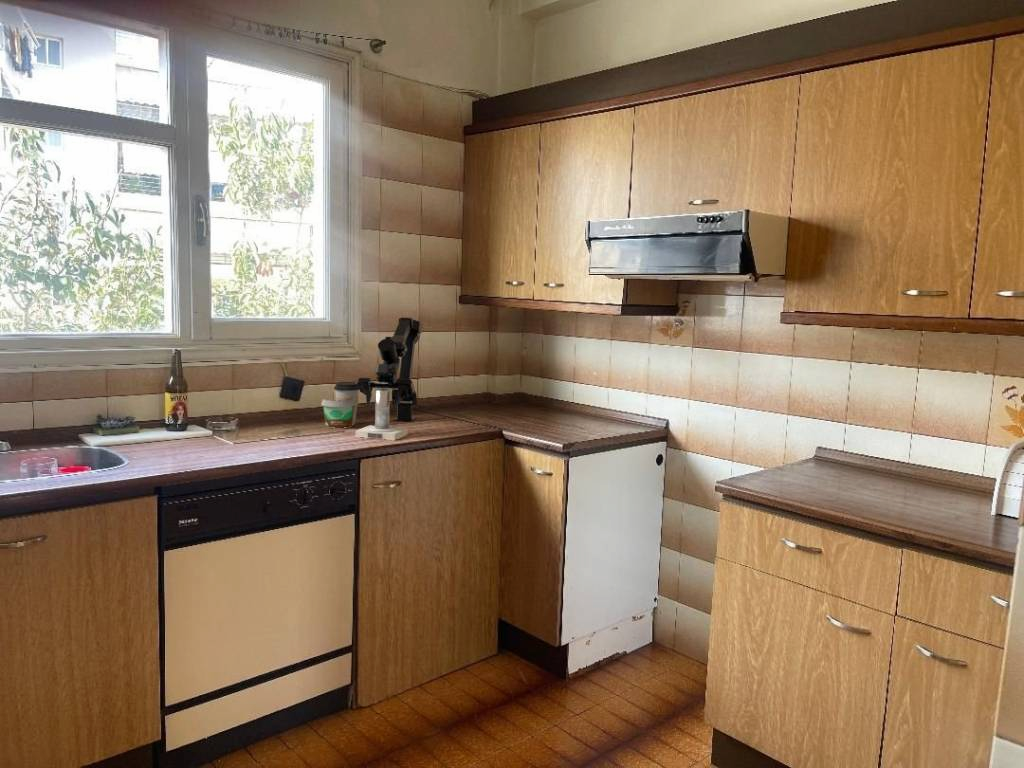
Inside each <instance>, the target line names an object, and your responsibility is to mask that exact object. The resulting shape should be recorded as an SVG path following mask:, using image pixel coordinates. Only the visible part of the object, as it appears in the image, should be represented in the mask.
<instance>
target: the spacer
mask: <svg viewBox="0 0 1024 768" xmlns="http://www.w3.org/2000/svg"><path fill="white" fill-rule="evenodd" d="M390 390H391V389H383V388H375V389H374V393H375V394H374V426H375V428H376V429H389V426H390V398H391V397H390V393H391V392H390Z"/></svg>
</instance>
